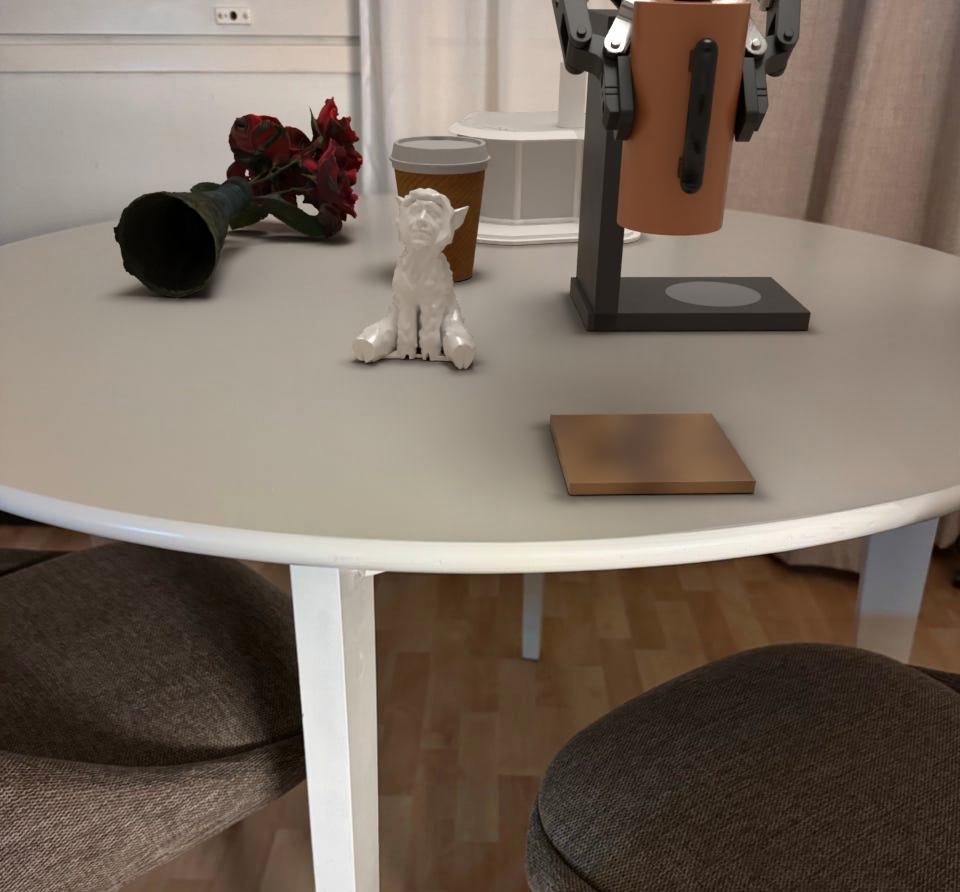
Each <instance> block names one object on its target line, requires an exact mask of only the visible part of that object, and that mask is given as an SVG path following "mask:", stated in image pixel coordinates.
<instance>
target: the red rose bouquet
mask: <svg viewBox="0 0 960 892" xmlns="http://www.w3.org/2000/svg"><path fill="white" fill-rule="evenodd" d="M308 107H309V112H310V129H311V134H312V138H311V139H310V138H309V136H308V135H306V133H305V132H304V131H303V130H301V129H300V128H298V127H295V126H291V125H285V126H284V125H283V123H282V122H281V121H280V120H279V118H278V117H276V116H271V115H267V114H261V115H257V114H254V113H248V114H244V115H242V116H240V117H235V120H234V121H233V123H232V125H231V128H230V132H229V134H228V139H227V140H228V144H229V148H230V151H231V153H232V154H233V160H234V161H233V162H232V163H231V164H230V165H229V166H228V167H227V168H226V169H227V170H226V172H225V176H226V179H225V180H224V181H223V182H222V183H216V182H211V181H201V182H198V183H197V184H194V185H192V186H191V188H190V189H189V191H166V190H161V191H155V192H149V193H143V194H142V195H140V196H138V197H136V198H135V199H133V200H132V201H131V202H130V203H129V204H128V205H127V206H125V207H124V208H123V210H122V211H121V214H120V218H119V220H118V224H117V226H114V227H113V233H114V240H115V242H116V243H118V245H119V249H120V255H121V259H122V266H123V269H124V270H125V272H126V273H128V274H129V276H133V277H135V278H136V279H137V280H138V281H139V282H140V283H141V285H143V286H144V287H146V288H147V289H148V290H149V291H151V292H154V293H156V294H159V295H164V296H165V297H170V298H178V299H179V298H183V297H187V296H189V295H192V294H194V293H196V292H198V291H200V290H202V289H204V287H205V286H206V285H207V284H208V283H209V282H210V280H211V278H212V277H213V276H214V273H215V270H216V268H217V266H218V263H219V259H220V257H221V256H220V254H221V252H222V250H223V247H224V245H225V241H226V239H227V235H228V231H229V228H230V229H231V230H232V231H234V230H238V229H244V228H245V227H250V226H252V225H255V224H257V223H259V222H260V221H262V220H263V221H264V220H265V219H266V218H268V217H269V215H271V216H273V218H275V219H276V220H278V221H280V222H282V223H284V224H285V225H286V226H287V227H289V228H291V229H293V230H295V231H297V232H299V233H301V234H304V235H306V236H309V237H314V238H321V237H323V238H324V239H326V240H330V238H333V237H334V236H336V235H337V234H338V233H340V231H341V230H342V228H343V225H344V223H343V222H345V223H346V222H347V218H348V215H349V216H350V217H352V218H353V219H355V220H356V219H357V217H358V214H357V212H356V210H355V207H356V206H355V205H356V202H357V201H358V200H359V194H357V193H353V192H354V191H355V190H354V188H353V187H354V186H356V185H357V181H358V180H357V179H358V178H357V177H358V176H357V175H358V173H359V171H360V169H361V168H362V166H363V163H364V159H363V155H362V154H361V153H360V152H359V151H358V150H356V147H355V145H354V144H355V143H357V142H359V141H360V137H359V136H358V135H357V133H356V131H355V130H353V129H352V127H351V122H352V117H351V115H349V116H342V117H341V118H340V119H339V118H338V116H339V115H340V113H339V108H338V106H337V104H336V102H335V97H334V96H333V95H332V97H331V98H329V97H328V98H326V99H325V101H324V105H323V106H322V107H321V109H320V111H319V113H318V117H317V118H315V116H314V114H313V111H312V109H311V107H310V105H308ZM247 171H248V174H247V175H246V173H247ZM298 196H299V197H300V196H303V200H302V204H306V205H311V206H312V207H313V208H314V209H316V211H317V214H314V215H313V214H309V213H307V212H306V211H304V209H302V208H300V207H299V204H298V200H297V199H298V198H297V197H298Z"/></svg>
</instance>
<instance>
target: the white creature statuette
mask: <svg viewBox="0 0 960 892" xmlns="http://www.w3.org/2000/svg"><path fill="white" fill-rule="evenodd" d="M394 198H395V201H396V203H397V205H398V210H399V212H398V216H396V218H395V219H394V225H395V226H397V233H398V235H397V240H398V241H399V242H401V244H402V245H403V246H404V248H405V247H406V248H405V249H404V250H403V252H402V253H401V256H399V257H398V258H397V259H396V266H395V268H394V270H393V276H392V281H391V290H392V292H393V296H392V298H393V299H392V300H393V302H392V303H391V304H390V305H388V309H387V310H388V312H387V314H386V316H385V317H383V318H382V319H380V320H378V321H377V322H374V323H372V324H370V325H369V324H368V326H366V327H365V328H363V329H362V331H361V333H360V334H359V335H357V337H355V338H354V339H353V341H352V343H351V349H352V352H353V355H354V357H355V358H356V359H357V360H358V361H362V362H365V364H369V363H375V362H377V361H379V360H382V359H401V360H404V359H406V356H408V358H409V360H413V359H415V358H418V359H419V358H420V359H422V360H423V361H427V359H428V358H429V361H431V362H434V361H442V362H452V363H453V364H454V366H455V368H457V369H458V370H462V369H465V370H466V369H468V368H469V367H470V366H471V364H472V362H473V361H474V358H475V351H476V348H477V345H476V343H475V341H473V335H471V334H470V333H469V331H468V330H467V327H466V324H465V318H464V316H463V314H462V312H461V307H460V304H459V301H458V299H457V296H456V293H455V290H454V287H455V286H454V282H455V281H454V282H453V280H452V279H453V277H452V274H453V273H452V271H451V270H450V264H449V262H448V261H447V260H446V256H445V255H444V254H443V253H442V252H441V251H442V250H443V249H444V248H445V246H446V245H448V244H451V243H452V239H453V237H454V232H455V230H456V229H458V228H459V227H460V226H461V225H462V224H463V222H464V219H465V216H466V214H467V211H468V209H469V206H466V207H462V208H459V209H455V210H454V209H453V208H452V207H451V204H450V200H449V199H448V198H447V197H446V196H445V195H442V194H440V193H438V192H437V191H435V190H432V189H430V188H426V189H422V188H418V189H416V190H413V191H410V192H409V195H406V196H405V197H404V198H402V197H400V196H398V195H395V197H394ZM417 350H420V353H417ZM442 352H443V353H442Z"/></svg>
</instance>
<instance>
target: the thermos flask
mask: <svg viewBox="0 0 960 892" xmlns="http://www.w3.org/2000/svg"><path fill="white" fill-rule="evenodd" d="M747 1H748V0H747ZM747 1H734V0H634V8H633V21H632V33H631V46H630V60H631V74H632V90H633V105H634V117H633V123H632V127H631V131H630V135H629V138H628V141H623V148H622V161H621V174H620V186H619V199H618V212H617V223H618V224H619V225H620V226H621V227H624V228H626V229H629V230H632V231H636V232H640V233H641V234H648V235H659V236H673V237H674V236H675V237H687V236H701V235H709V234H712V233H715V232H718V231H720V230H721V229H722V227H723V224H724V215H725V209H726V200H727V193H728V185H729V177H730V170H731V163H732V155H733V146H734V141H735V137H734V132H735V124H736V117H737V109H738V101H739V94H740V86H741V78H742V71H743V63H744V55H745V48H746V40H747V32H748V25H749V17H750V16H751V8H752V2H750V1H748V2H747Z"/></svg>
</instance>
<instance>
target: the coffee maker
mask: <svg viewBox="0 0 960 892" xmlns="http://www.w3.org/2000/svg"><path fill="white" fill-rule="evenodd" d="M618 11H619V10H618V9H617V8H616V9H614V8H608V9H607V8H588V12H589V17H590V22H591V26H592V31H593V34H597V35H600V36H603V37H606V36H607V34H608V32H609V30H610V28H611V26H612V24H613V22H614V20H615V18H616V16H617V14H618ZM585 113H586V117H585V134H584V151H583V168H582V185H581V202H580V219H579V236H578V242H577V255H576V269H575V272H576V273H575V276H571V277H570V285H569V295H570V297H571V299H572V301H573V303H574V305H575V307H576V309H577V312H578V314H579V316H580V318H581V320H582V322H583V325H584V327H585V329H586V331H587V332H611V331H612V332H618V331H619V332H623V331H624V332H627V331H629V332H634V331H635V332H637V331H638V332H639V331H640V332H642V331H643V332H644V331H647V332H649V331H650V332H651V331H654V332H655V331H657V332H659V331H663V332H664V331H667V332H669V331H671V332H672V331H675V332H676V331H808V330H809V325H810V320H811V315H812V314H811V313H812V312H811V311H810V310H809V309H807V307H806V306H804V304H802V303H801V302H800V301H799V300H798V299H796V297H794V296H793V295H792V294H791V293H790V292H789V291H788V290H786V288H784V287H783V286H782V285H781V284H780V283H778V282H777V281H776V280H775V279H774V278H773V277H772V276H622V267H623V266H622V265H623V255H624V254H623V253H624V243H623V242H624V230H625V228H624V227H621V226H620V225H619V224H618V223H617V212H618V199H619V186H620V174H621V161H622V148H623V141H615V140H614V130H606V129H605V127H604V126H603V124H602V118H601V100H600V84H599V80H598V79H597V77H596V76H595V75H593V74H591V73H589V72H587V82H586V99H585Z"/></svg>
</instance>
